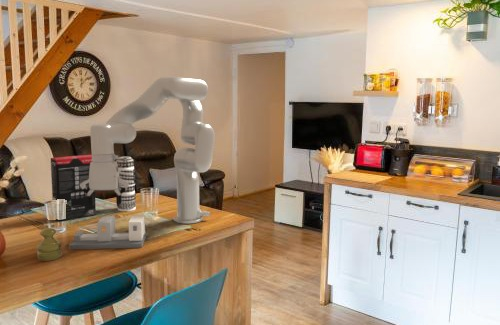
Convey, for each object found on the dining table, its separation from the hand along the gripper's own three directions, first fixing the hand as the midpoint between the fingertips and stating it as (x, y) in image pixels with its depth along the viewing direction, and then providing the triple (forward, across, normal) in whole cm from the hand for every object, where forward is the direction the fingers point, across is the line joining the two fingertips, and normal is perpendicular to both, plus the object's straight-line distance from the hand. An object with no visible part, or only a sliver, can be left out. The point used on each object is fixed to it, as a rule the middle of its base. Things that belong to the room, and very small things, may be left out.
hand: (105, 205), depth 154 cm
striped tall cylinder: (+14, +2, -46) cm, 49 cm away
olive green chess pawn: (+14, +16, +14) cm, 25 cm away
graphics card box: (+14, +22, -34) cm, 43 cm away
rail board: (+14, -1, 0) cm, 14 cm away
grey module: (+12, 0, 0) cm, 12 cm away
